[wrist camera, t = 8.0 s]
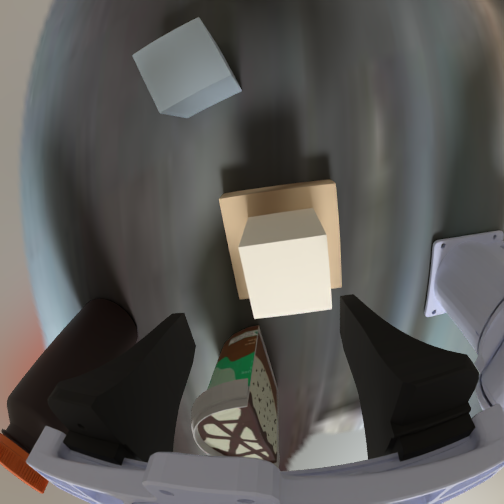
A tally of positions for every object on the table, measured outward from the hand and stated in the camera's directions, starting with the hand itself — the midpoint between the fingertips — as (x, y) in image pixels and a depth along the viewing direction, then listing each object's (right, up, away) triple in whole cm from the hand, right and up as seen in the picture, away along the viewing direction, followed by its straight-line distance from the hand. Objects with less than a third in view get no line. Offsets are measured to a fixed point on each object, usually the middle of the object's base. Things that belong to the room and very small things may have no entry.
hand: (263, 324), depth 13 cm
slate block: (-4, +16, +5) cm, 17 cm away
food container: (-2, -8, +15) cm, 17 cm away
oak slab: (+2, +5, +10) cm, 11 cm away
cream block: (+2, +4, +8) cm, 9 cm away
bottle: (-16, -4, +15) cm, 22 cm away
